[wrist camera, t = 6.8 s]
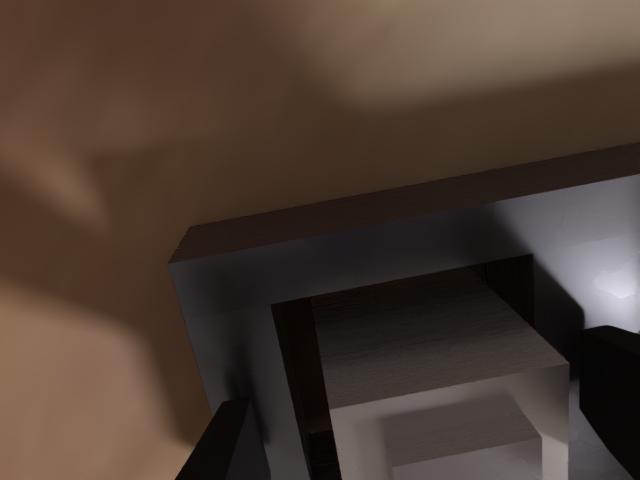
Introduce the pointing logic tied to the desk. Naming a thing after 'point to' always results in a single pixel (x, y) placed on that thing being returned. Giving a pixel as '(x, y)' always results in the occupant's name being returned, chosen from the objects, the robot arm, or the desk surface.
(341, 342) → the stepped square block
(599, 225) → the plate with square hole
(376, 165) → the desk surface
